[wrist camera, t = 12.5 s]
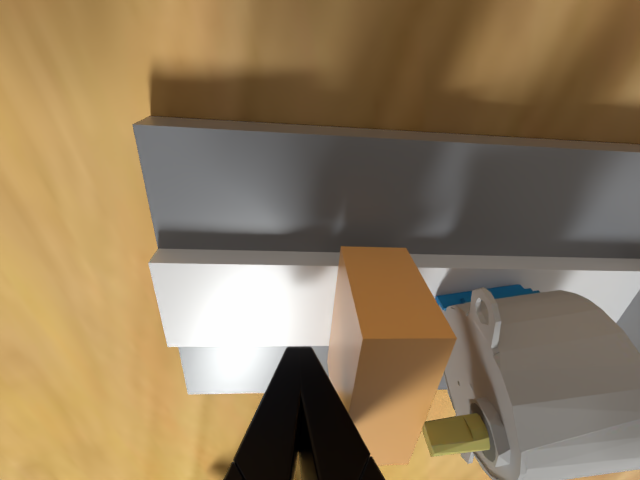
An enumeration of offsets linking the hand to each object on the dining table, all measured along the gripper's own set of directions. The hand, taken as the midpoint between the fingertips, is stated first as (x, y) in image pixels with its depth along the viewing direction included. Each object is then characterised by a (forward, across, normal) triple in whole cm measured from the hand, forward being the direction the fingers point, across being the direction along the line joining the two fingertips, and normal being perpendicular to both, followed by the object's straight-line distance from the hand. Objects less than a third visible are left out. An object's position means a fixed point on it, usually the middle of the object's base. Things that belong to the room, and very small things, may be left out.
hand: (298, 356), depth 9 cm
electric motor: (+2, -6, 0) cm, 6 cm away
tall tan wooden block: (+2, -2, 0) cm, 3 cm away
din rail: (+4, -5, 0) cm, 6 cm away
